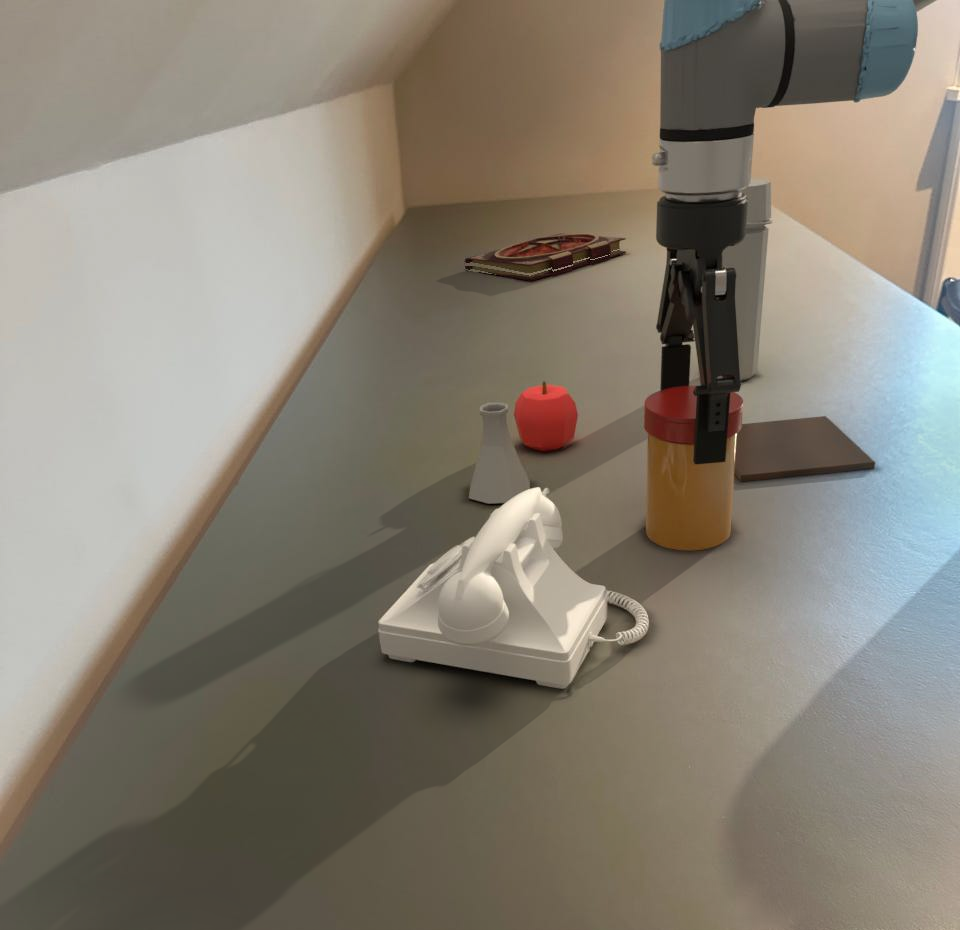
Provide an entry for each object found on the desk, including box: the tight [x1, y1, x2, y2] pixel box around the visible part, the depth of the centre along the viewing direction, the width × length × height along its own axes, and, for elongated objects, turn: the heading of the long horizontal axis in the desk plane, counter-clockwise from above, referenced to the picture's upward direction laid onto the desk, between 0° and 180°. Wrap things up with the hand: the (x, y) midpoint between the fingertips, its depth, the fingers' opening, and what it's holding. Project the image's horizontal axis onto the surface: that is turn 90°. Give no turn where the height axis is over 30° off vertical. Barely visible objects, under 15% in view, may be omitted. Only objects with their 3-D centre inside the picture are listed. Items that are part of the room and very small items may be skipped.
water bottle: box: [717, 178, 773, 382], centre depth 131 cm, size 9×8×25 cm
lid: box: [643, 385, 745, 444], centre depth 92 cm, size 9×9×2 cm
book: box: [464, 233, 627, 282], centre depth 207 cm, size 28×21×5 cm
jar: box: [645, 433, 737, 552], centre depth 95 cm, size 8×8×13 cm
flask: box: [468, 402, 531, 505], centre depth 107 cm, size 7×7×10 cm
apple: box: [513, 380, 579, 453], centre depth 119 cm, size 8×8×8 cm
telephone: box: [377, 486, 650, 690], centre depth 82 cm, size 25×21×12 cm
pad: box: [735, 415, 876, 483], centre depth 114 cm, size 15×15×1 cm
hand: (690, 435), depth 93 cm, fingers open, 13 cm apart
